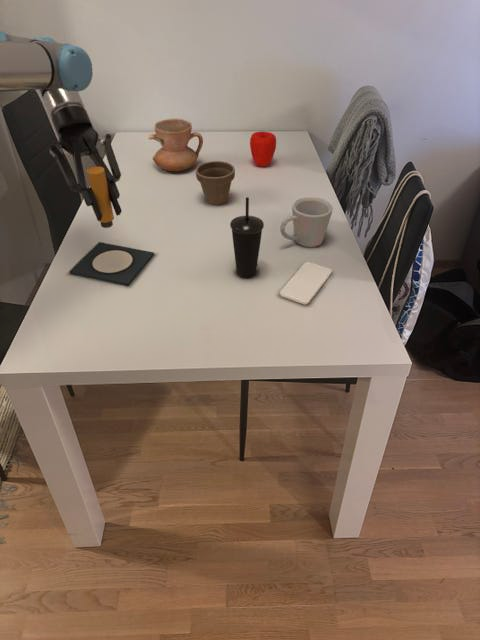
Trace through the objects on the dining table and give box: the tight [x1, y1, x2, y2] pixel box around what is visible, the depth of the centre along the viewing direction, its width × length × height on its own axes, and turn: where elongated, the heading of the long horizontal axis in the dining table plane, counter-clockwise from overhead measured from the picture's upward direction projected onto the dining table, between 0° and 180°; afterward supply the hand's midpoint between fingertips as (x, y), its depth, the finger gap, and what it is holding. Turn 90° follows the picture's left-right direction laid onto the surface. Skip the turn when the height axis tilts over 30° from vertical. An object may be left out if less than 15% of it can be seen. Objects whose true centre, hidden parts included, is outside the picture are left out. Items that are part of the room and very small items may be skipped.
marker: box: [86, 165, 115, 229], centre depth 103 cm, size 4×4×13 cm
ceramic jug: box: [147, 118, 204, 172], centre depth 159 cm, size 18×14×14 cm
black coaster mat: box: [69, 241, 155, 287], centre depth 120 cm, size 16×14×1 cm
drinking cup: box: [229, 197, 265, 279], centre depth 111 cm, size 8×8×20 cm
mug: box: [279, 196, 334, 248], centre depth 124 cm, size 10×15×10 cm
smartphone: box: [279, 261, 333, 306], centre depth 113 cm, size 7×1×15 cm
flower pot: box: [194, 160, 236, 206], centre depth 142 cm, size 12×11×10 cm
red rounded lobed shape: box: [249, 131, 277, 168], centre depth 162 cm, size 9×9×11 cm
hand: (109, 215), depth 102 cm, fingers closed on marker, 4 cm apart
